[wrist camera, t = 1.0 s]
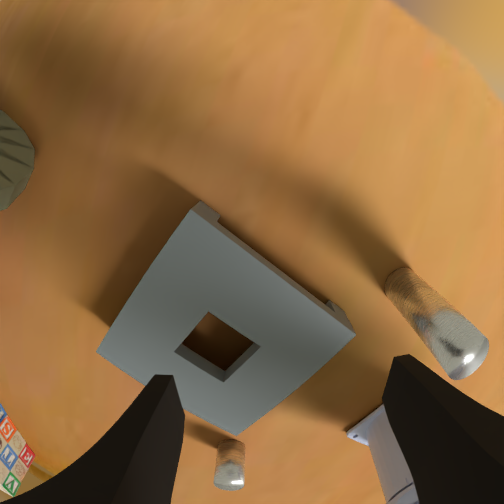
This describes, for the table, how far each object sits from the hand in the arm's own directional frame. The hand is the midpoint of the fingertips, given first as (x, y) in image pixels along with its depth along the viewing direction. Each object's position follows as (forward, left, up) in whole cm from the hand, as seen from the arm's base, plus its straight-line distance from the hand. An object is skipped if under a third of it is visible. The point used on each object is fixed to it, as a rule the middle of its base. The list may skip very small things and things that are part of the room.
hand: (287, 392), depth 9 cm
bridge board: (0, +5, -11) cm, 12 cm away
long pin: (-8, -5, -11) cm, 14 cm away
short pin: (-9, +16, -11) cm, 21 cm away
